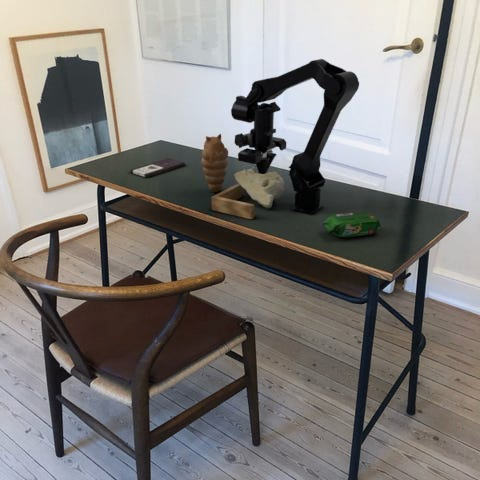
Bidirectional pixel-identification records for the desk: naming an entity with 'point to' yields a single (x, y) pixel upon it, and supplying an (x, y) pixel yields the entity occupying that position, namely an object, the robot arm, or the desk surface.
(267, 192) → the pale lumpy rock
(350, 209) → the desk surface
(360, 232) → the snack package
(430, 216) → the desk surface
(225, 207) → the corner stop
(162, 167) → the chocolate bar
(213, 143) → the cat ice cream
